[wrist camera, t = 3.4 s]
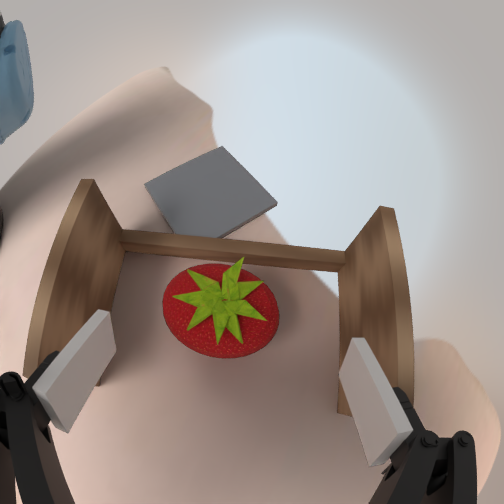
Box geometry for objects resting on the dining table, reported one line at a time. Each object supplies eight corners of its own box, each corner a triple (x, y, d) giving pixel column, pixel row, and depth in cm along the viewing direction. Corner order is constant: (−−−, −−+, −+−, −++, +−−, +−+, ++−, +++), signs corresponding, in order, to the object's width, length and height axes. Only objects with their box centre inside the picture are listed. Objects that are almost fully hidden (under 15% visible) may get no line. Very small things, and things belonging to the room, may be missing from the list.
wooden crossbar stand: (350, 411, 19) (412, 421, 11) (87, 382, 18) (22, 375, 10) (348, 261, 25) (393, 208, 17) (118, 238, 24) (81, 179, 16)
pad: (145, 187, 27) (144, 184, 27) (222, 149, 31) (222, 146, 30) (190, 257, 24) (189, 254, 24) (276, 205, 27) (277, 202, 27)
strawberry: (187, 283, 23) (163, 220, 14) (274, 302, 23) (302, 248, 14) (169, 349, 20) (125, 325, 11) (261, 371, 20) (285, 365, 11)
